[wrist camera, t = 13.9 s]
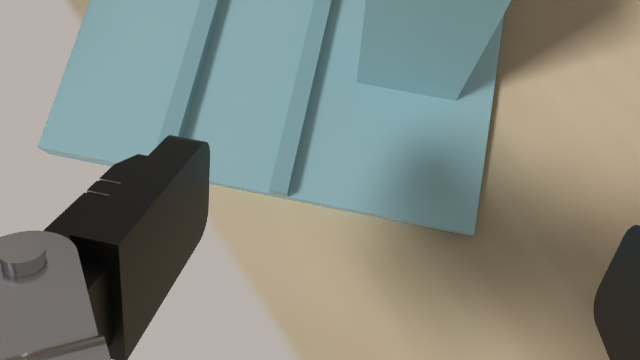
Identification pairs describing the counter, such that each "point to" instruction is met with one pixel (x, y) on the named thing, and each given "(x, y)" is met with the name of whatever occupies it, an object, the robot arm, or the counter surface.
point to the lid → (295, 97)
